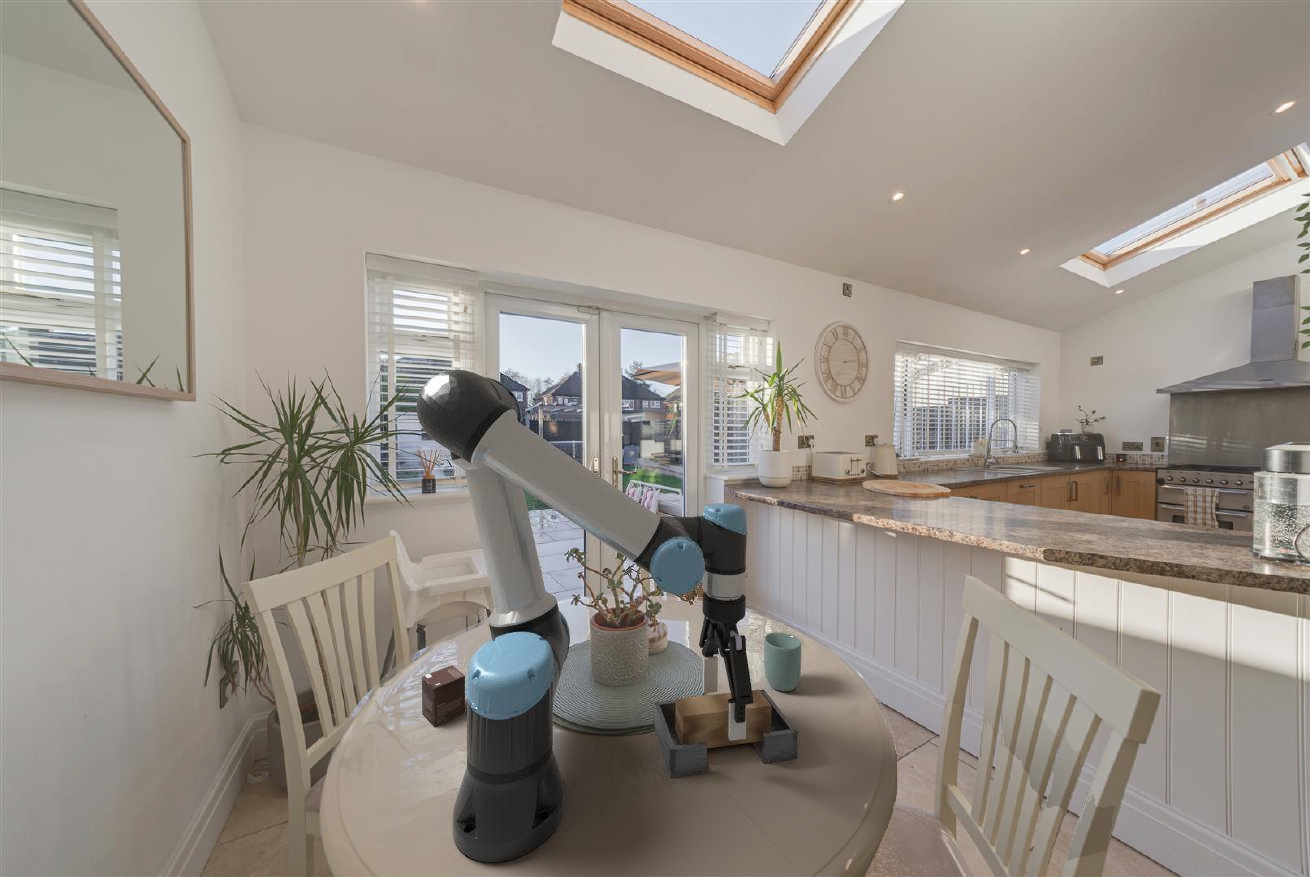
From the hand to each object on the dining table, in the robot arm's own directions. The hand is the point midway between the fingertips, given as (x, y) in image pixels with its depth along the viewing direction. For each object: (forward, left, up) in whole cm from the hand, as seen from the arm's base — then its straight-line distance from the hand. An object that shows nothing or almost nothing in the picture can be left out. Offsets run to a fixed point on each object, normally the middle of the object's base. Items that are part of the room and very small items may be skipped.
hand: (722, 713), depth 79 cm
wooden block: (0, 0, -4) cm, 4 cm away
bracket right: (+8, 0, -5) cm, 9 cm away
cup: (+19, +14, -5) cm, 24 cm away
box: (-50, +18, -5) cm, 53 cm away
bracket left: (-8, 0, -5) cm, 9 cm away
